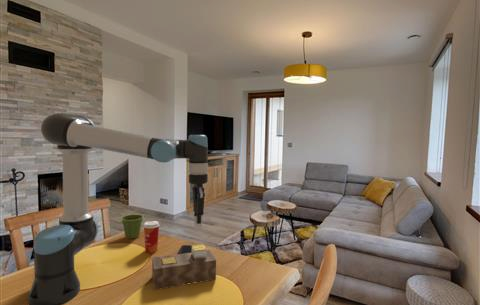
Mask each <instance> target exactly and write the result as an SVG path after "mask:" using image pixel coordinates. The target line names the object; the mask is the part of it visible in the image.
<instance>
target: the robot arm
mask: <svg viewBox="0 0 480 305" xmlns="http://www.w3.org/2000/svg"><path fill="white" fill-rule="evenodd" d="M40 131H41V134H42V137H43V139H44V140H46V141H47V142H49V143H51V144H53V145H56V146H57V147H56V148H57V151H58V152H60V153H61V156H62V192H63V194H62V195H63V197H62V198H63V204H62V205H63V214H62V215H61V216H60V217H59V218H58V220H59V221H58V222H59V223H58V224H57V225H56V224H55V225H52V226H51V227H46V228H44V229H42V230H40V231H39V232H37V233H36V235H35V237H34V240H33V247H32V248H33V261H34V263H33V266H34V270H33V271H34V272H33V273H34V277H33V278H34V279H33V281H32V284H31V287H30V290H29V293H28V304H29V305H61V304H64V303H66V302H68V301H70V300H72V299H73V298H75V296H77V295H78V294H79V292H80V291H81V281H80V279H79V277H78V274H77V272H76V270H75V255H77V254H78V253H79V252H81V251H82V250H84V249H85V248H86V247H88V246H89V245H90V244H92V243H93V241H94V240H95V239H96V237H97V236H98V232H99V226H98V224H97V223H98V222H97V221H95V219H94V216H93V213H92V212H91V211H89V207H90V206H89V204H90V203H89V167H88V166H89V164H88V162H89V161H88V158H89V156H88V155H89V152H90V151H92V150H93V149H99V150H104V151H109V152H112V153H113V152H114V153H119V154H126V155H130V156H135V157H140V158H145V159H149V160H154V161H155V162H159V163H168V162H171V161H173V160H174V159H175V160H176V159H188V173H189V174H188V183H189V184H191V185H193V186H192V188H191V190H192V206H193V207H192V208H193V213H194V214H193V217H194V232H202V231H203V216H204V211H205V210H204V209H205V208H204V207H205V196H206V194H205V188H204V187H203V184H207V183H208V181H209V180H208V179H209V176H208V171H209V170H208V169H209V166H210V165H209V164H208V163H209V162H208V159H209V158H208V157H209V155H208V153H209V151H208V150H209V148H208V146H209V145H208V144H209V143H208V137H207V135H205V134H190V135H189V136H188V139H167V138H166V139H161V138H156V137H151V136H145V135H142V134H136V133H131V132H128V131H127V132H126V131H121V130H118V129H117V130H116V129H110V128H107V127H106V128H105V127H100V126H96V125H95V123H94V122H93V121H92V120H91V119H89V118H88V117H86V116H83V115H81V114H80V115H79V114H70V113H63V112H55V113H52V114H50V115H48V116H46V117H45V118H44V119H43V120H42V122H41V126H40Z"/></svg>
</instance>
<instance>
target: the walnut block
mask: <svg viewBox="0 0 480 305" xmlns="http://www.w3.org/2000/svg"><path fill="white" fill-rule="evenodd" d="M170 257H175V260H176V263H174V264H167V265H162V259H163V258H170ZM151 260H152V261H151V262H152V264H151V273H152V274H151V275H152V276H151V277H152V278H151V280H152V285H153V286H152V287H153V290H154V291H155V289H157V290H161V289H160V288H162V289H167V288H166V287H168V288H172V287H171V286H174V287H179V286H178V285H180V286H183V285H182V284H186V285H189V284H188V283H191V284H195V283H194V282H197V283H201V282H200V281H203V282H207V281H206V280H209V281H213V280H212V279H215V280H216V279H217V259H216V258H215V256H214V254H213V252H212V251H211V250H210V249H208V250H207V249H206V259H203V260H196V261H193V259H192V253H184V254H169V255H163V256H154V257H152V259H151Z"/></svg>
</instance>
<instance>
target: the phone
mask: <svg viewBox="0 0 480 305" xmlns="http://www.w3.org/2000/svg"><path fill="white" fill-rule="evenodd" d="M192 246H193V245H189V244H188V245H187V244H183V245H181V247H180V249H179V250H178V251H177V254H184V253H192Z"/></svg>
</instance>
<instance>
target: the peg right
mask: <svg viewBox="0 0 480 305" xmlns="http://www.w3.org/2000/svg"><path fill="white" fill-rule="evenodd" d="M191 246H192V259H193V261H196V260H203V259H206V251H207V247H206V246H205V245H204V243H203V244H195V245H191Z"/></svg>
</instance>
